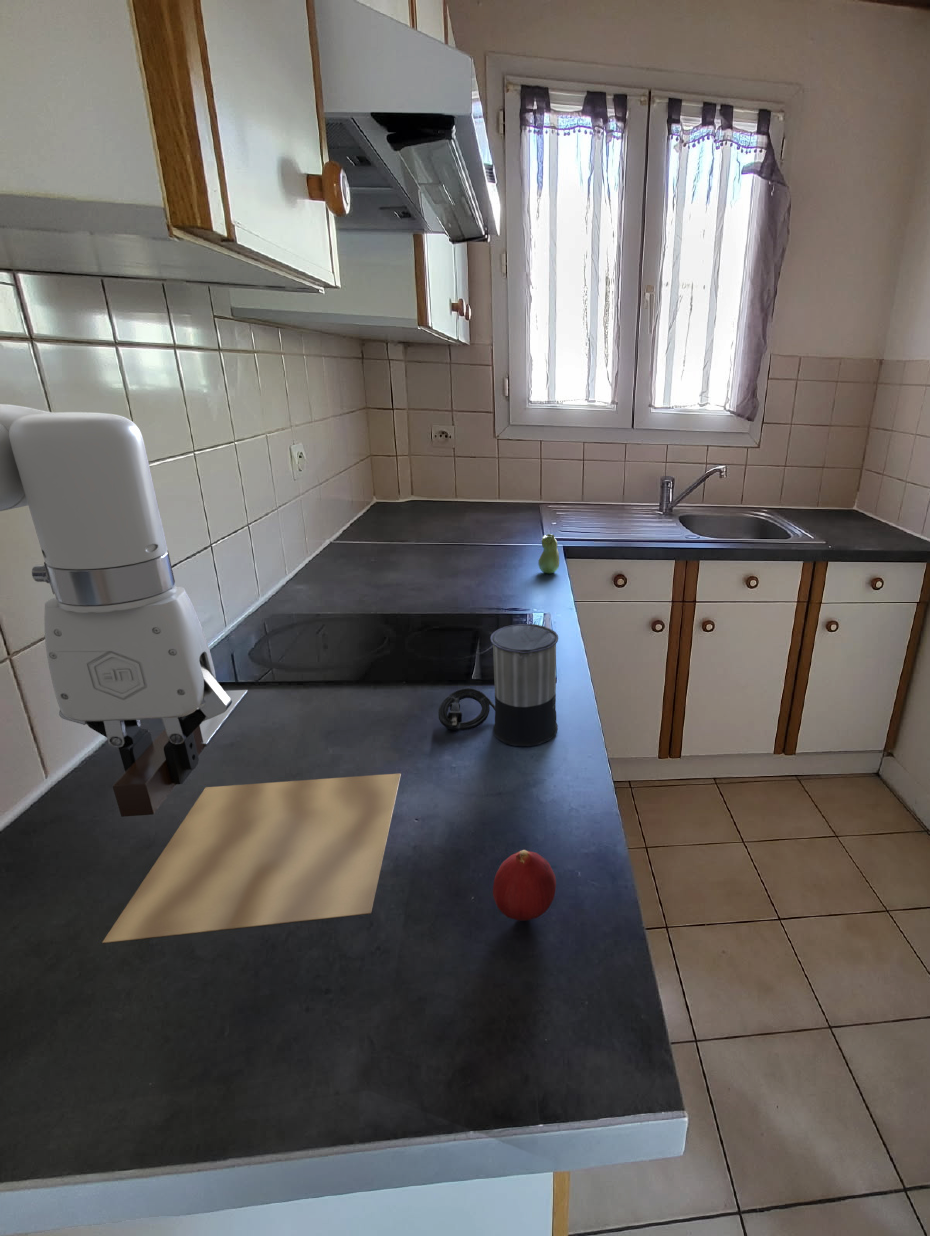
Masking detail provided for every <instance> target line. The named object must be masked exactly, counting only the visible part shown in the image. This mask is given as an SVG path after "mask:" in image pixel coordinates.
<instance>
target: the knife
mask: <svg viewBox="0 0 930 1236" xmlns="http://www.w3.org/2000/svg"><path fill="white" fill-rule="evenodd" d="M224 691H225V692H226V693H227V695H228V696H229V697H230V698H231V700H232V703H231V705H230V706H229V708H228V709H227V710H226V711H225V712H224V713H222V714H220V715H217V716H215V717H213V718H211V719H209V720H208V719H207V720H205V721H203V722H202V723H201V724H200V725H199V726H198V727H197V728H196V729H195V730H194V731H193V735H194V739H195V744H196V748H197V752H198V757H199V756H200V754H201V753H202V752H203V751H204V749H205V748H207V747H208V746H209V745H210V744H211V742H212V741H213V739H214V738H215V737H216V736H217V734H218V733H219V731H220V730H221V729H222V728H223V727H224V725H225V724H226V722H228V720H229V719H230V718H231V716H232V715H233V713H234V712H235V711H236V710H237V708H238V707H239V705H240V704H241V703H242V702H243V700H244V699H245V698H246V697H247V695H248V694H249V691H248V689H237V690H236V689H235V690H234V689H233V690H231V689H230V690H224ZM152 741H153V743H152V744H151V745H150V746H149V747H148V748H147V749H146V750H145V751H144V752H143V754H142V755H141V756H140V757H139V758H138V759H137V760H136V761H135V762H134V763H133V764H132V766H131V767H130V768H129V769H128V770H127V771H126V772H125V771H124V773H123V774H122V775H121V777H119V779H118V780H117V781H116V782H115V783H114V784H113V785H112V790H113V793H114V796H115V797H114V798H115V801H116V804H117V807H118V811H119V814H120V817H122V818H123V817H139V816H153V815H155V813H156V812H157V810H158V809H159V808H160V806H161V805H162V804H163V803H164V802H165V800H166V799H167V797H168V796H169V795H170V794H171V792H173V790H174V788H175V787H176V786H177V784H176V785H175V784H174V783H172V780H171V776H170V772H169V768H168V764H167V760H166V758H165V754H164V746H165V745H166V743H167V742H168V741H169V740H168V737H167V733H166V730H165V728H164V729H163V730H162V731H161V732H160V734H158V736H157V737H156V738H155V739H154V740H152Z"/></svg>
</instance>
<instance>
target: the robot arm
mask: <svg viewBox="0 0 930 1236" xmlns="http://www.w3.org/2000/svg"><path fill="white" fill-rule="evenodd" d="M23 507H28V509H29V513H30V515H31V519H32V522H33V526H34V529H35V533H36V536H37V539H38V544H39V547H40V550H41V553H42V557H43V559H44V562H43V564H35V565H34V566H33V567H32V569H31V576H32V579H33V580H34V581H35V582H36V583H46V584H49V586H50V589H51V591H52V594H53V595H54V597H53V598H50V599H48V600H47V601H46V602H45V603H44V616H43V617H44V621H43V623H44V624H43V625H44V640H45V651H46V656H47V658H46V659H47V663H48V668H49V674H50V679H51V683H52V687H53V691H54V694H55V695H54V696H55V698H56V703H57V705H58V707H59V712H58V715H59V717H60V718H61V719H63V720H65V721H69V722H72V723H76V724H80V725H83V726H85V725H87V727H88V728H90V729H91V730H93V731H95V732H96V733H98V734H100V735H102V736H103V737H105V738H106V739H107V743H108V744H109V746H110V747H112V748H116V749H118V752H119V755H120V758H121V762H122V765H123V766H122V767H123V769H124V773H125V772H126V771H127V770H128V769H129V768H130V767H131V766H132V764H133V763H134V762H135V761H136V760H137V759H138V758H139V757H140V756H141V755H142V754H143V752H144V751H145V750H146V749H147V748H148V747H149V746H150V745H151V744H152V743H153V741H154V740H153V738H152V734H151V732H150V731H149V729H148V728H142V723H141V720H156V719H157V720H160V719H161V720H162V723H163V727H164V729H165V730H166V733H167V737H168V740H169V741H168V742H167V743H166V745H165V746H164V754H165V758H166V760H167V764H168V768H169V772H170V776H171V780H172V783H174V784H175V785H176V786H177V785H183V784H184V782H185V781H186V780H187V779H188V777H189V776H190V775H191V773H192V772H193V771H194V770H195V769H196V768H197V767H198V765H199V759H200V758H199V756H198V752H197V748H196V744H195V739H194V735H193V731H194V730H195V729H196V728H197V727H198V726H199V725H200V724H201V723H202V722H203V721H205V720H207V719H208V720H209V719H211V718H213V717H215V716H217V715H220V714H222V713H224V712H225V711H226V710H227V709H228V708H229V706H230V705H231V703H232V700H231V698H230V697H229V696H228V695H227V693H226V692H225V691H226V690H224V688H223V686H221V685H220V683H219V682H218V681H217V677H216V670H215V665H214V662H213V661H214V660H213V658H212V654H211V650H210V647H209V643H208V641H207V637H206V635H205V632H204V628H203V625H202V623H201V621H200V619H199V616H198V613H197V611H196V608H195V607H194V605H193V603H192V600H191V599H190V597H189V595H188V592H187V591H186V590H185V587H183V586H177V584H176V580H175V576H174V571H173V567H172V563H171V557H170V552H169V548H168V544H167V539H166V535H165V530H164V526H163V520H162V517H161V513H160V509H159V504H158V498H157V495H156V489H155V486H154V481H153V475H152V472H151V467H150V462H149V458H148V453H147V449H146V444H145V440H144V438H143V433H142V432H141V430H140V428H139V427H138V425H137V424H136V423H135V422H134V421H133V420H130V419H129V418H127V417H126V416H122V415H120V414H113V413H107V412H106V413H105V412H89V411H87V412H85V411H65V412H64V411H62V412H58V411H57V412H52V411H47V410H42V409H39V408H38V409H37V408H33V407H29V406H23V405H16V404H7V403H0V512H3V511H9V510H13V509H18V508H23Z"/></svg>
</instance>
